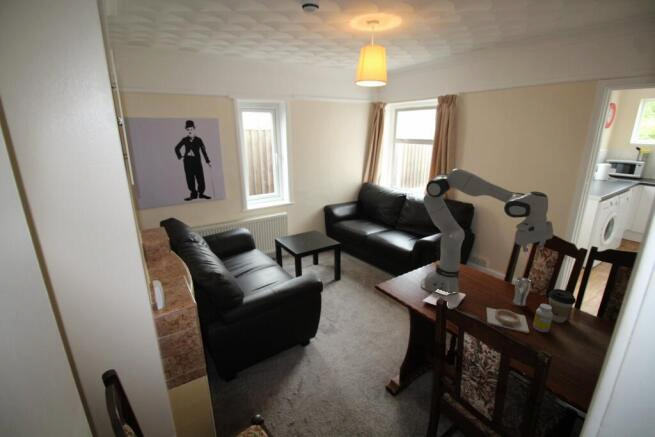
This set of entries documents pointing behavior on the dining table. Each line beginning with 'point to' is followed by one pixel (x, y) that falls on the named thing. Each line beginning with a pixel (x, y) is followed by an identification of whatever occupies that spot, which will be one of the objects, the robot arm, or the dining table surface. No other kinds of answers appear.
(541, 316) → the supplement bottle
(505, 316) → the ring socket
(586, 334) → the dining table surface
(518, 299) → the beer glass
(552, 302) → the coffee cup
